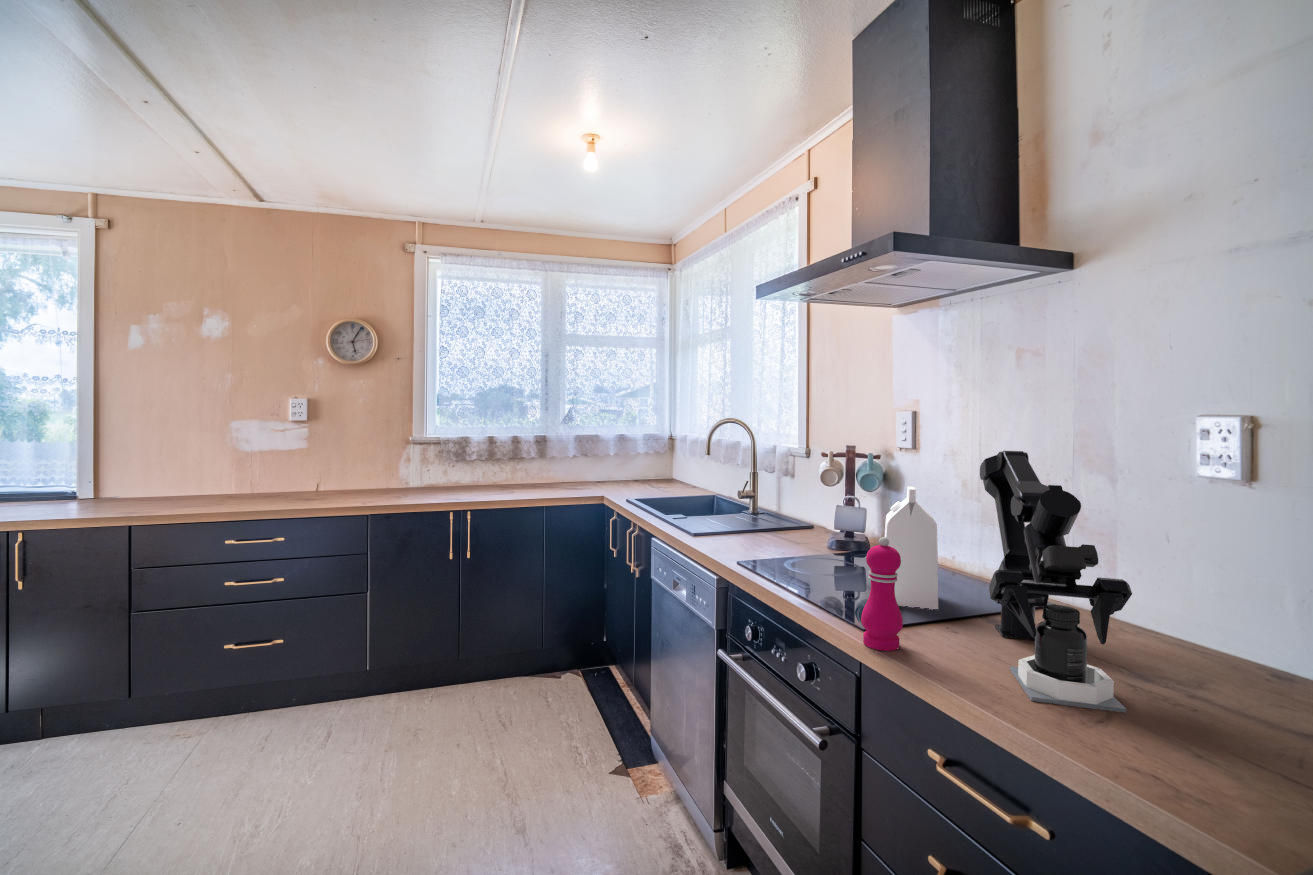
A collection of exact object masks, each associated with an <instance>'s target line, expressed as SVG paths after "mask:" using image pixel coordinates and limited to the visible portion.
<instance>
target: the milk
mask: <svg viewBox="0 0 1313 875" xmlns="http://www.w3.org/2000/svg"><path fill="white" fill-rule="evenodd" d="M916 490H917V489H916V488H915V487H914V486H907V490H906V491H907V492H906V498H905V499H903V500H902V501H901V502H900V500H898V501H896V502H895V503H894V504H893V505H892V506H891V507H890V511H889V512H887V514H886V515H885V525H884V526H885V527H884V537H886V538H887V539H888V540H889V544H888V546H890V547H893V548H894V549H896V550H897V551H898V553H899V554H900V557H901V565H900V567H899V568H898V569H897V570H896V573H897V574H898V576H897V579H898V580H897V581H896V582H895V588H894V589H895V598H896V602H897V604H898V607H905V606H908V607H907V608H914V607H920V608H919V609H924V608H929V609H928V610H933V609H938V610H939V576H938V575H939V572H938V571H939V566H938V562H939V561H938V560H939V558H938V557H939V556H938V527H937V526H938V525H937V521H935V519H934V517H932V516H931V515H930V513H928V512H927V511H926V509H925V508H923V506H922V505H921V504H919V503H918V502H917V500H916V496H917V492H916Z"/></svg>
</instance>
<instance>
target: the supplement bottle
mask: <svg viewBox="0 0 1313 875" xmlns="http://www.w3.org/2000/svg"><path fill="white" fill-rule="evenodd" d="M1080 613H1081V612H1080V610H1079V609H1077V608H1075V607H1072V606H1067V605H1062V604H1061V605H1060V604H1047V605H1045V606H1043V607H1042V616H1041V617H1042V619H1043V621H1041V622H1039V623H1037V625H1035V627H1036V636H1035V640H1034V655H1035V671H1036V672H1038V673H1041V674H1044V675H1047V676H1049V677H1052V678H1055V679H1058V680H1060V681H1069V682H1077V683H1085V684H1087V665H1088V635H1087V633H1086V631H1085V629H1083V628H1082V627H1080V626H1079V625H1080V623H1081V616H1080V615H1081V614H1080Z"/></svg>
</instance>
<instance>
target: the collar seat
mask: <svg viewBox="0 0 1313 875" xmlns="http://www.w3.org/2000/svg"><path fill="white" fill-rule="evenodd" d="M1009 671H1010V672H1011V673H1012V675H1013V676H1014V678H1015V679H1016V681H1017V682H1018V684H1019V685H1020V687H1021V688H1022V689H1023V691H1024V692H1025V694H1026V696H1027V697H1028V698H1029V700H1030V701H1031V702H1037V703H1044V704H1052V703H1053V704H1052V705H1054V704H1055V705H1060V706H1068V707H1075V708H1076V707H1077V708H1085V709H1093V710H1098V709H1099V710H1100V711H1106V710H1109V711H1108V712H1113V711H1117V712H1116V713H1121V712H1126V713H1127V708H1126V707H1125V705H1123V704H1122V703H1121V702H1120V701H1119V700H1118V699H1117V698H1116V697H1115V696H1114V687H1115V686H1114V685H1115V681H1114V680H1113V679H1112V678H1111V677H1110V676H1109V675H1108V674H1107V673H1106V672H1105V671H1104V670H1102V669H1101V668H1100V667H1096V666H1093V665H1090V664H1087V684H1085V683H1077V682H1069V681H1060V680H1058V679H1055V678H1052V677H1049V676H1047V675H1044V674H1041V673H1038V672H1036V671H1035V654H1033V655H1030V656H1027V657H1023V658H1020V659H1018V663H1017V666H1012V665H1011V666H1009ZM1118 711H1119V712H1118Z"/></svg>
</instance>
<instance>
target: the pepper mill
mask: <svg viewBox="0 0 1313 875" xmlns="http://www.w3.org/2000/svg"><path fill="white" fill-rule="evenodd" d="M878 543H879V544H878V545H873V546H872V547H870V549H869V550H868V551H867V553H866V558H865V562H866V565H867V566H868V567H869V569H870V570H868V580H870V592H869V594H868V595H869V596H868V598H867V600H866V603H865V605H864V606H863V609H862V612H861V617H860V623H861V626H862V627H863V628H864V629H865V631H864V632H863V634H862V635H863V639H862V641H863V642H862V643H863V644H864V645H865V646H866V647H867V648H869V649H872V650H876V651H883V652H891V651H895V650H898V649H900V637H899V636H898V634H899V633H900V632H901V631H902V629H903V627H904V625H903V624H904V622H903V614H902V612H901V609H900V606H898V604H897V602H896V598H895V589H894V588H895V582H896V581H897V580H898V579H897V576H898V574H897V573H896V570H897V569H898V568H899V567H900V565H901V557H900V554H899V553H898V551H897V550H896V549H894V548H893V547H890V546H888V544H889V540H888V539H887V538H886V537H885V536H882V537H880V538H879V539H878Z"/></svg>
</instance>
